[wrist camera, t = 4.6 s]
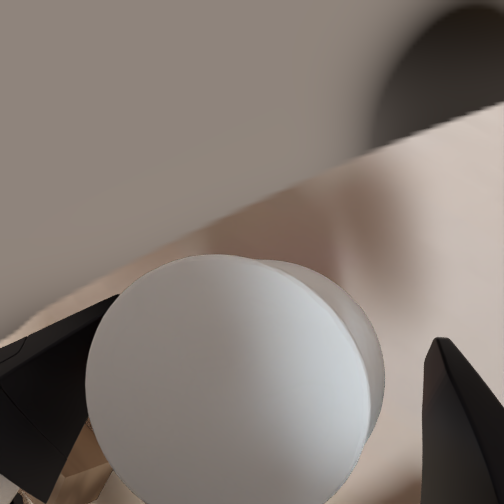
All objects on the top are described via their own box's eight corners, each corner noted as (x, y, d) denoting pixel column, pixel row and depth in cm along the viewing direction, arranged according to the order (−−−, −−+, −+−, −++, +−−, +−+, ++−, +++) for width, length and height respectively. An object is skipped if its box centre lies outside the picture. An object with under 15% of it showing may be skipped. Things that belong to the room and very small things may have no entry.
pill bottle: (206, 379, 15) (23, 410, 5) (270, 276, 16) (159, 153, 5) (310, 445, 13) (263, 605, 3) (379, 338, 14) (495, 325, 3)
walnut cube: (97, 498, 14) (48, 520, 10) (51, 450, 16) (1, 460, 11) (120, 457, 15) (65, 477, 10) (69, 405, 17) (12, 411, 12)
